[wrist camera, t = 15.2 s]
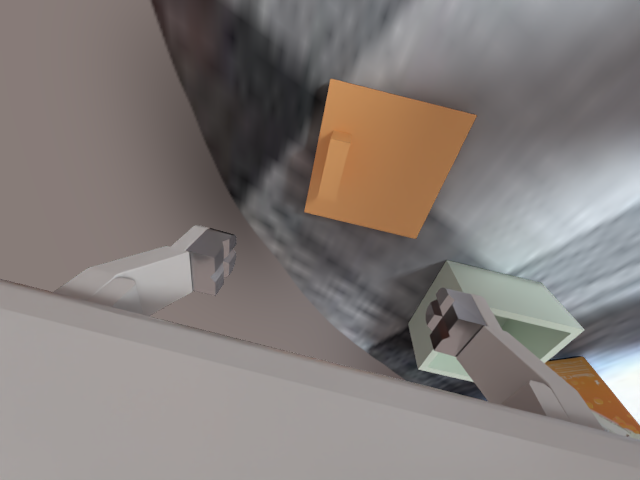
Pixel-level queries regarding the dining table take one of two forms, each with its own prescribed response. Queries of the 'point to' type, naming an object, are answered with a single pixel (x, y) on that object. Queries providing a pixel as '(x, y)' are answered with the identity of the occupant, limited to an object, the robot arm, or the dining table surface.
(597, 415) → the small box
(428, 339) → the tub
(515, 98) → the dining table surface
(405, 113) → the lid
